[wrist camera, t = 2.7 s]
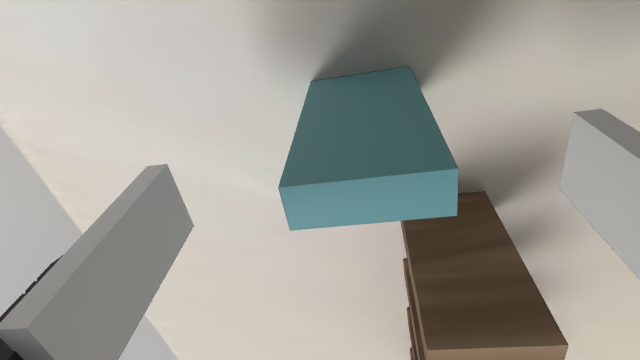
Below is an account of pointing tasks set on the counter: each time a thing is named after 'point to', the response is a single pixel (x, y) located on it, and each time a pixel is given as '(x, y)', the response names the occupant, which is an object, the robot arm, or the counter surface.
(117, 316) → the robot arm
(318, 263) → the counter surface
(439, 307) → the domino
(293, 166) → the domino
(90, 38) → the counter surface
